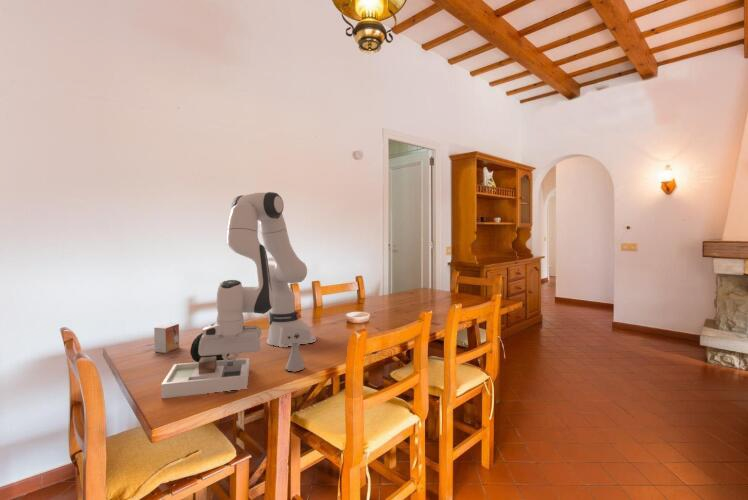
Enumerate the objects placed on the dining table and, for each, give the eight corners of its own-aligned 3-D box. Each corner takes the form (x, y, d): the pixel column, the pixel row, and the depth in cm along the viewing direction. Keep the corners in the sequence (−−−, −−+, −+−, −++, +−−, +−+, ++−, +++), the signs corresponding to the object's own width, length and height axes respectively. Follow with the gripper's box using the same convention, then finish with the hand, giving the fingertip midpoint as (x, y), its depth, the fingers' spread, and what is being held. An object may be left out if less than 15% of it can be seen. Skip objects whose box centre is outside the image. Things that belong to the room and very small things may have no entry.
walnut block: (216, 367, 129) (216, 356, 129) (214, 372, 125) (214, 361, 124) (201, 368, 128) (201, 357, 128) (198, 374, 123) (198, 362, 123)
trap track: (249, 369, 135) (249, 358, 135) (247, 389, 119) (247, 376, 119) (174, 376, 128) (174, 364, 128) (161, 398, 112) (161, 384, 111)
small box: (165, 353, 151) (165, 328, 150) (154, 352, 152) (153, 327, 151) (179, 347, 159) (179, 323, 158) (168, 346, 160) (168, 322, 159)
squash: (181, 358, 131) (211, 324, 135) (184, 347, 145) (211, 317, 148) (213, 379, 135) (241, 346, 139) (213, 367, 149) (239, 337, 153)
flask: (295, 374, 132) (295, 347, 131) (281, 370, 135) (281, 344, 135) (308, 368, 138) (309, 342, 137) (294, 364, 142) (295, 339, 141)
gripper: (261, 323, 133) (261, 359, 134) (200, 326, 128) (200, 364, 128) (261, 327, 127) (261, 366, 128) (197, 331, 121) (197, 371, 122)
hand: (230, 365), depth 128 cm, fingers closed
